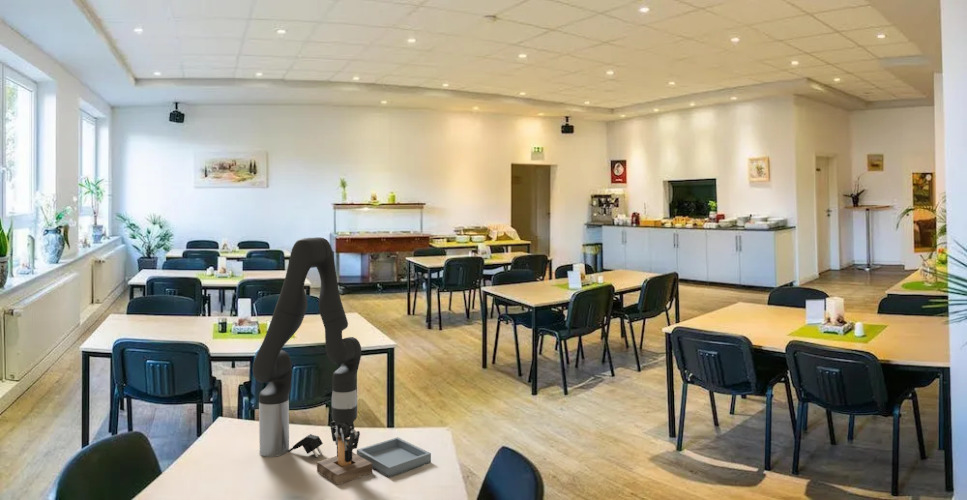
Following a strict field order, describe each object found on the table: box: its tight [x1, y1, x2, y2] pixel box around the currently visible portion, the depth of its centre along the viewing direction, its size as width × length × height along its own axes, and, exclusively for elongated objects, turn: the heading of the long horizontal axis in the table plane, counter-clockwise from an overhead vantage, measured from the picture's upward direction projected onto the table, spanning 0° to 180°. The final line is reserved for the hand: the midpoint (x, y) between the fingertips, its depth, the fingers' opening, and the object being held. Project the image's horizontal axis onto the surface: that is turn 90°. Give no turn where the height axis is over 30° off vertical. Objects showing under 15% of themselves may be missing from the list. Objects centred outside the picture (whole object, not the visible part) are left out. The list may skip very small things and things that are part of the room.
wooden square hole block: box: [316, 451, 373, 486], centre depth 185 cm, size 12×12×3 cm
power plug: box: [287, 433, 324, 459], centre depth 198 cm, size 6×8×12 cm
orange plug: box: [338, 437, 351, 468], centre depth 185 cm, size 4×4×10 cm
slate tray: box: [356, 436, 432, 478], centre depth 194 cm, size 18×16×3 cm
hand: (344, 458), depth 185 cm, fingers closed on orange plug, 4 cm apart
